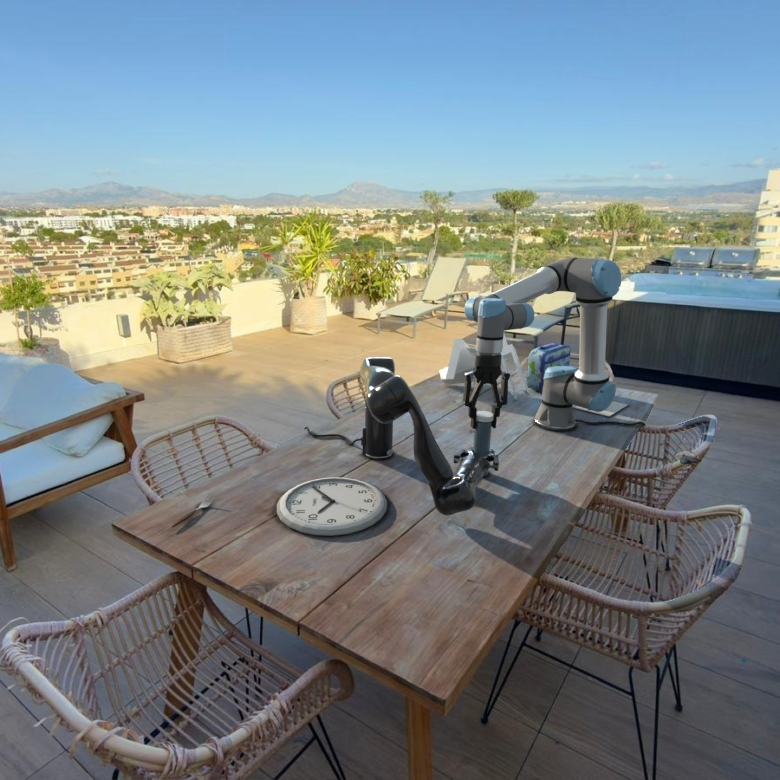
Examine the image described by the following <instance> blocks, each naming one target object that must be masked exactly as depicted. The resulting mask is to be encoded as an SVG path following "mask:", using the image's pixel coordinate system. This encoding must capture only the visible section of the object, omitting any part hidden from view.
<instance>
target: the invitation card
mask: <svg viewBox="0 0 780 780" xmlns="http://www.w3.org/2000/svg"><path fill="white" fill-rule="evenodd" d="M628 406H629V404H627V403H623V402H618V401H614V400H613V401H612V402H611V404H610V405H609V406H608V407H607V408H606V409H605V410H604V411H601V412H596V411H592V410H588V409H586V408H582V407H579V406H576V405H575V406H574V407H573V409H575V410H581V411H584V412H587V413H593V414H596V415H600V416H604V417H608V418H609V417H611V416H613V415H614V414H616V413H617V412H619V411H621V410H623V409H624V408H626V407H628Z"/></svg>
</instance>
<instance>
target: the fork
mask: <svg viewBox="0 0 780 780" xmlns="http://www.w3.org/2000/svg"><path fill="white" fill-rule="evenodd" d="M216 495H217V494H212V493H208V494H207V495H206V497H205V498H204V499H203V501H202V502H201V503H200V505H198V507H197V508H196V509H193V510H192V511H190V512H188V513H187V514H185V515H183V517H181V518H180V519H179V520H178V521H176V522H175V523H174V524H173V525H172V526H171V529H173V528H175V527H176V526H178V525H179V524H181V523H183V522H184V521H186V520H188V519H189V518H191V517H192V516H193V515H194V514H195V513H197V511H198V510H200V509H207V508H208V507H210V505H211V504H212V502H213V501H214V499H215V497H216Z"/></svg>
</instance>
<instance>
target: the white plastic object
mask: <svg viewBox="0 0 780 780" xmlns="http://www.w3.org/2000/svg"><path fill="white" fill-rule="evenodd" d="M476 353H477V351H476V345H473V346H469V345H468V343H466V342H465V340H464V339H463V338H460V339H458V338H454V340H453V344H452V349H451V353H450V357H449V362H448V366H446V367H444V368H442V369H440V370H439V371H438V372H439V376H440V381H442V383H443V384H444V385H445V386H449V385H458V384H465V377H464V373H465V372H467V373H469V372H472V371H473V369H474V368H475V355H476ZM500 354H501V355H502V358H501V366H502V367H501V368H502V371H503V372H505V371H506V372H508V373H509V374H510V378H509V380H508V391H509V393H510V394H511V395H512V397H513V398H514V399H515V400H517V392H516V391H517V390H516V388H515V385H514V381H513V378H512V375H511V371H510V369H509V365H508V361H510V360H513V363H514V366H515V369H516V372H517V376H518V380H519V382H520V385H521V389H522V391H523V393H524V395H525V396H526V397H528V396H531V395H530V389H529V388H528V387H527V384H526V381H527V380H526V378H525V375H524V371H523V369H522V368H523V367H522V366H521V362H520V359H519V355H518V352H517V349H516V347H515V346H514V345H513V343H511V344H508V341H507V337H506V334H505V333H504V334H503V346H502V352H501V353H500ZM476 380H477V379H476V377H475V376H473V379H472V380H471V383H473V384H475V383H476Z"/></svg>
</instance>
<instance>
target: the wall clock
mask: <svg viewBox="0 0 780 780" xmlns="http://www.w3.org/2000/svg"><path fill="white" fill-rule="evenodd" d="M387 509H388V500H387V498H386V496H385V494H384V493H383V492H382V491H381V490H380V489H379V488H377V487H376V486H374V485H372V484H371V483H369V482H365V481H362V480H359V479H355V478H349V477H338V476H337V477H335V476H333V477H332V476H331V477H322V478H317V479H312V480H307V481H305V482H302V483H299V484H297V485H295V486H293V487H292V488H290V489H288V490H287V491H286V492H285V493H284V494H283V495H281V496H280V498H279V499H278V502H277V503H276V515H277V517H278V518H279V520H280V521H281V522H282V523H283V524H285V525H286V526H287V527H288V528H290V529H293V530H295V531H297V532H299V533H303V534H308V535H312V536H327V537H328V536H329V537H331V536H332V537H333V536H342V535H350V534H352V533H356V532H361V531H363V530H366V529H368V528H369V527H372V526H373V525H375V524H376V523H378V522H379V521H380V520H381V519H382V518H383V517H384V516H385V514H386V512H387Z"/></svg>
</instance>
